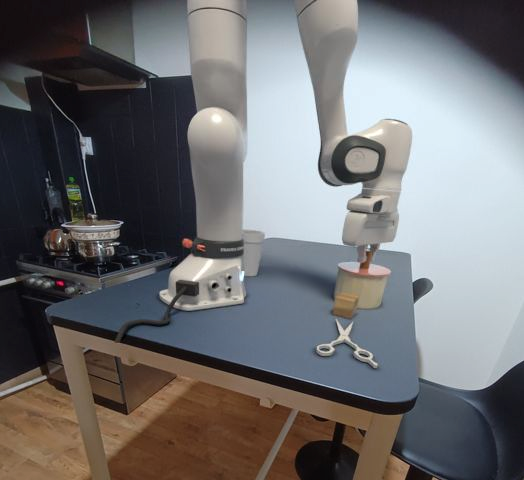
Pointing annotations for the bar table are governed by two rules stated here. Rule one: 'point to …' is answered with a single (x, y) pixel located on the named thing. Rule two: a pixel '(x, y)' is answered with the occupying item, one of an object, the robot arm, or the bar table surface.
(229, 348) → the bar table surface
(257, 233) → the foam cup
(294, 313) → the bar table surface
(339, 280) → the pot
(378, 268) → the lid
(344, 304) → the block
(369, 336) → the bar table surface
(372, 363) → the scissors
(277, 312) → the bar table surface
